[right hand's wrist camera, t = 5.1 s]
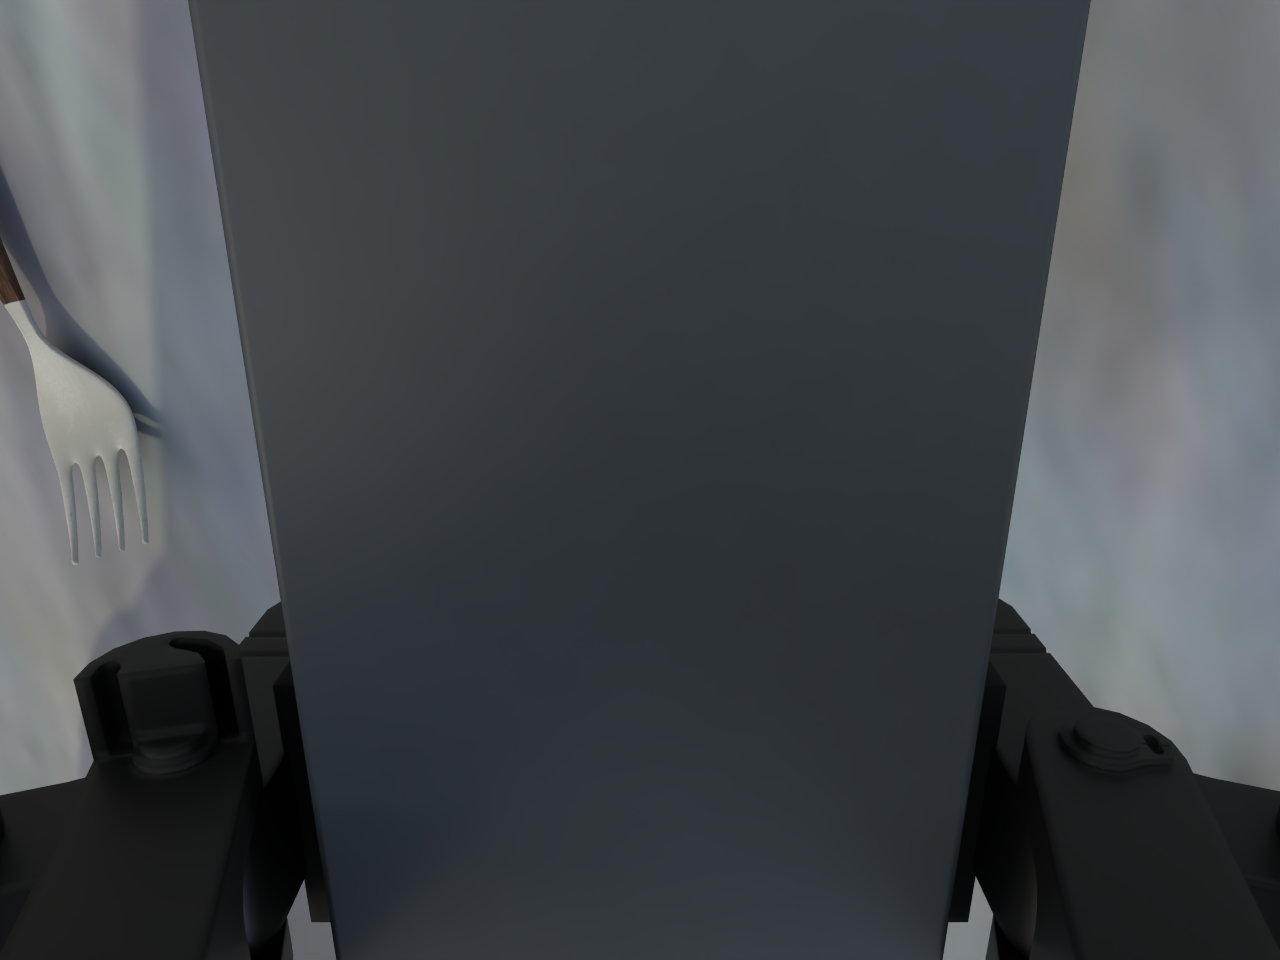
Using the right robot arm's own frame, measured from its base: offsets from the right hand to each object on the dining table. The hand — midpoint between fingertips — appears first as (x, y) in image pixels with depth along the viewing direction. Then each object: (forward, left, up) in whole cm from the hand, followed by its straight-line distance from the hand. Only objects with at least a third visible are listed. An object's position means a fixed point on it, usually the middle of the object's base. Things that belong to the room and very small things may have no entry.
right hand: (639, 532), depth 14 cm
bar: (+4, +7, -1) cm, 8 cm away
